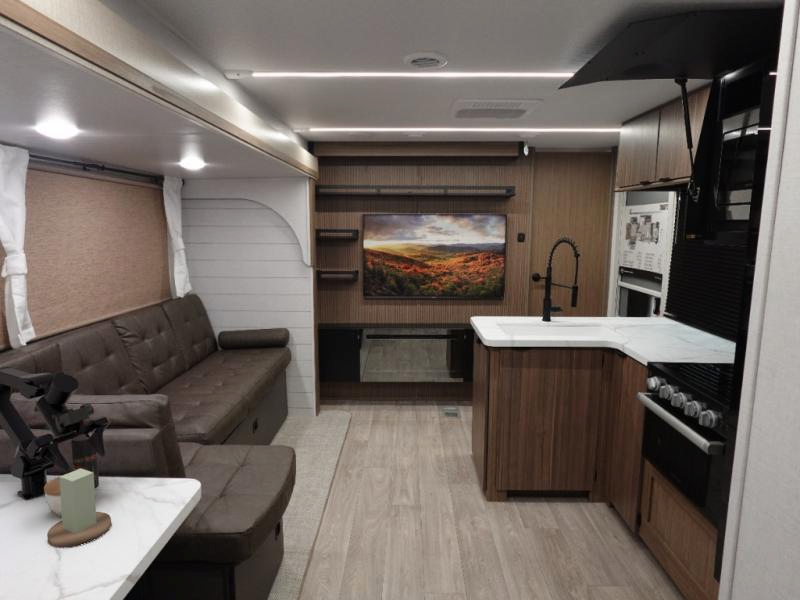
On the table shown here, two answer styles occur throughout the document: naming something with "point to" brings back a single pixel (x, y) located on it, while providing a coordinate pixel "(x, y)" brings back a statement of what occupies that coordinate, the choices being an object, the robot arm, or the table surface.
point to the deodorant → (85, 456)
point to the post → (78, 500)
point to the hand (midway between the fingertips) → (86, 462)
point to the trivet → (69, 539)
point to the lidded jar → (53, 495)
